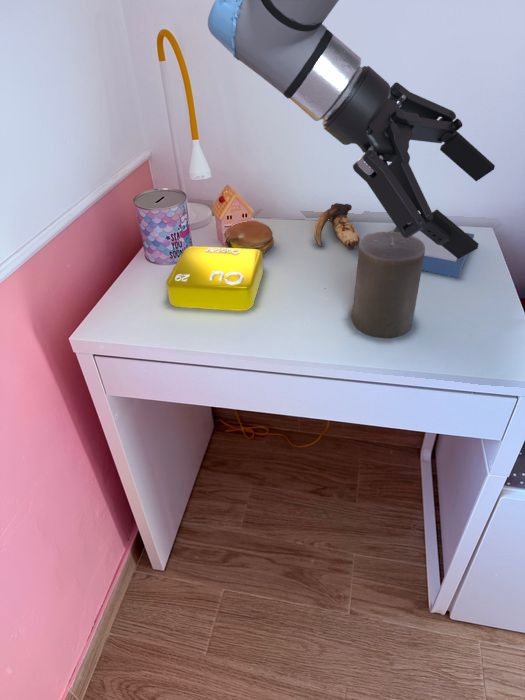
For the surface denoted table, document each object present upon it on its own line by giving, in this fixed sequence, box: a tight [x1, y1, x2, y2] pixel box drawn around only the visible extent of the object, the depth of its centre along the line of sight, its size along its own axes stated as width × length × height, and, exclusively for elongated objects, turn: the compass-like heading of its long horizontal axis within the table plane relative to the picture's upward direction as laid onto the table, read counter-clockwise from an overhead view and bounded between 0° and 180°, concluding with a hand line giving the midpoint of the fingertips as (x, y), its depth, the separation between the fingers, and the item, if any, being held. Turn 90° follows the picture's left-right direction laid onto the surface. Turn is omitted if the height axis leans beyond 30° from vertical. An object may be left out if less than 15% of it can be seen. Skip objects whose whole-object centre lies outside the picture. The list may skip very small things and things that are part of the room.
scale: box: [392, 223, 475, 279], centre depth 102 cm, size 15×14×3 cm
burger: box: [223, 220, 275, 255], centre depth 105 cm, size 10×9×5 cm
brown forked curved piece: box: [314, 202, 361, 250], centre depth 108 cm, size 9×5×18 cm
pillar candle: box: [351, 231, 425, 340], centre depth 80 cm, size 10×10×15 cm
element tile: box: [165, 245, 264, 312], centre depth 93 cm, size 15×15×5 cm
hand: (477, 210), depth 62 cm, fingers open, 13 cm apart
